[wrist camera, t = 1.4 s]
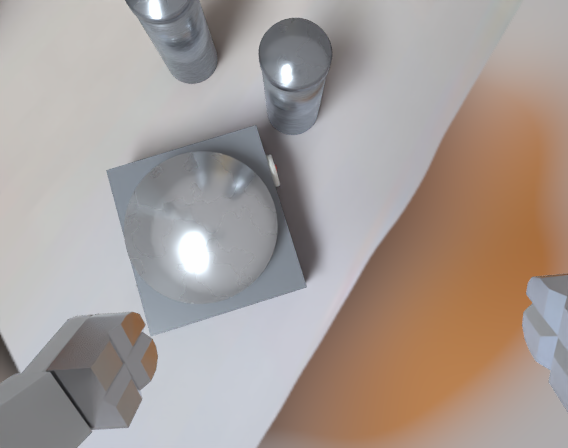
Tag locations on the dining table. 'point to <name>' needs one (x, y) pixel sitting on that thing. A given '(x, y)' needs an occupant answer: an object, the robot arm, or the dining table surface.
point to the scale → (276, 276)
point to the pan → (200, 227)
